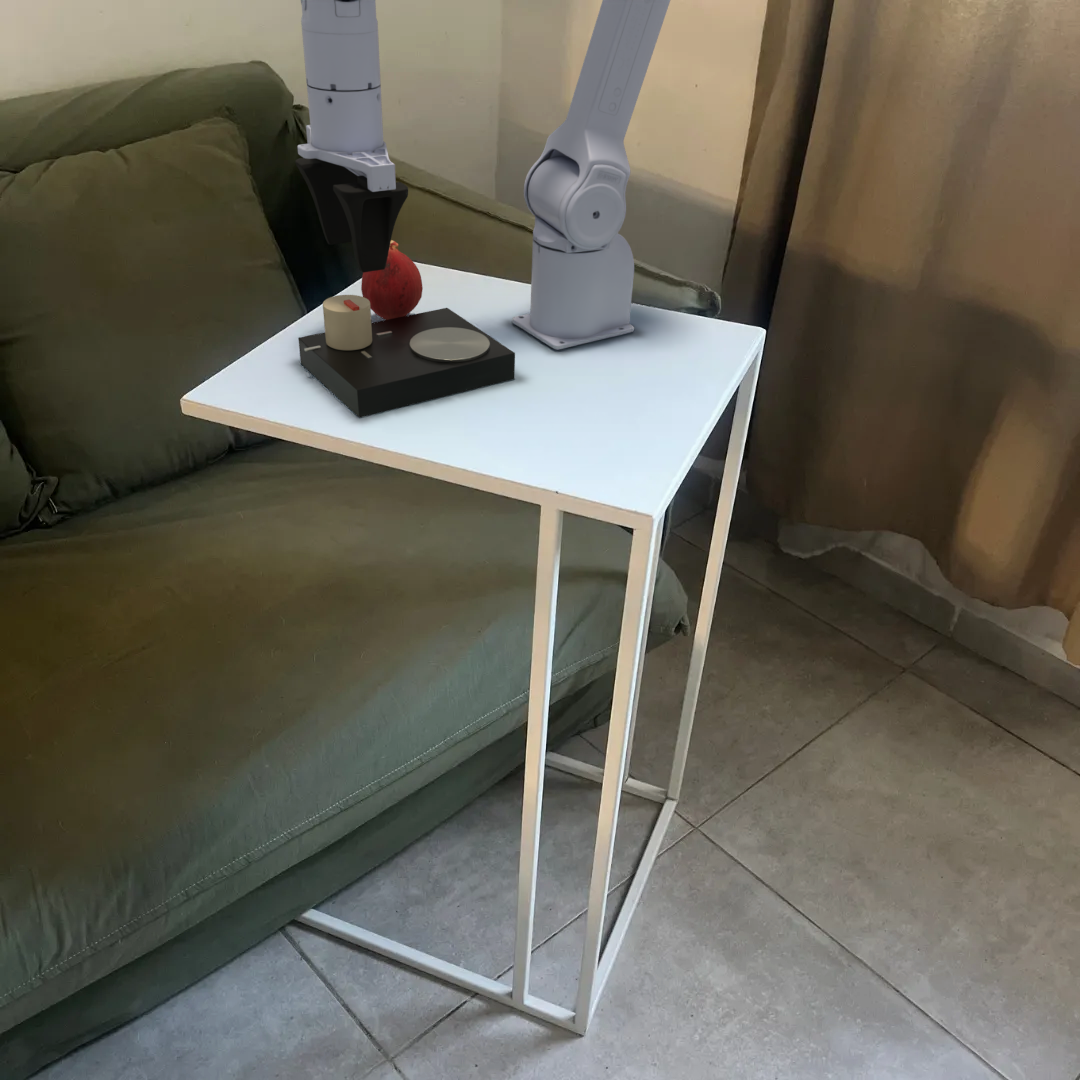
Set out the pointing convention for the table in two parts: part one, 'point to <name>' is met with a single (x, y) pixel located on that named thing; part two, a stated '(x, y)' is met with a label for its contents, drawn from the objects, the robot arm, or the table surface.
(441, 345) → the burner
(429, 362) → the hob
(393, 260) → the onion
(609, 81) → the robot arm
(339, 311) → the knob
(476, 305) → the table surface
